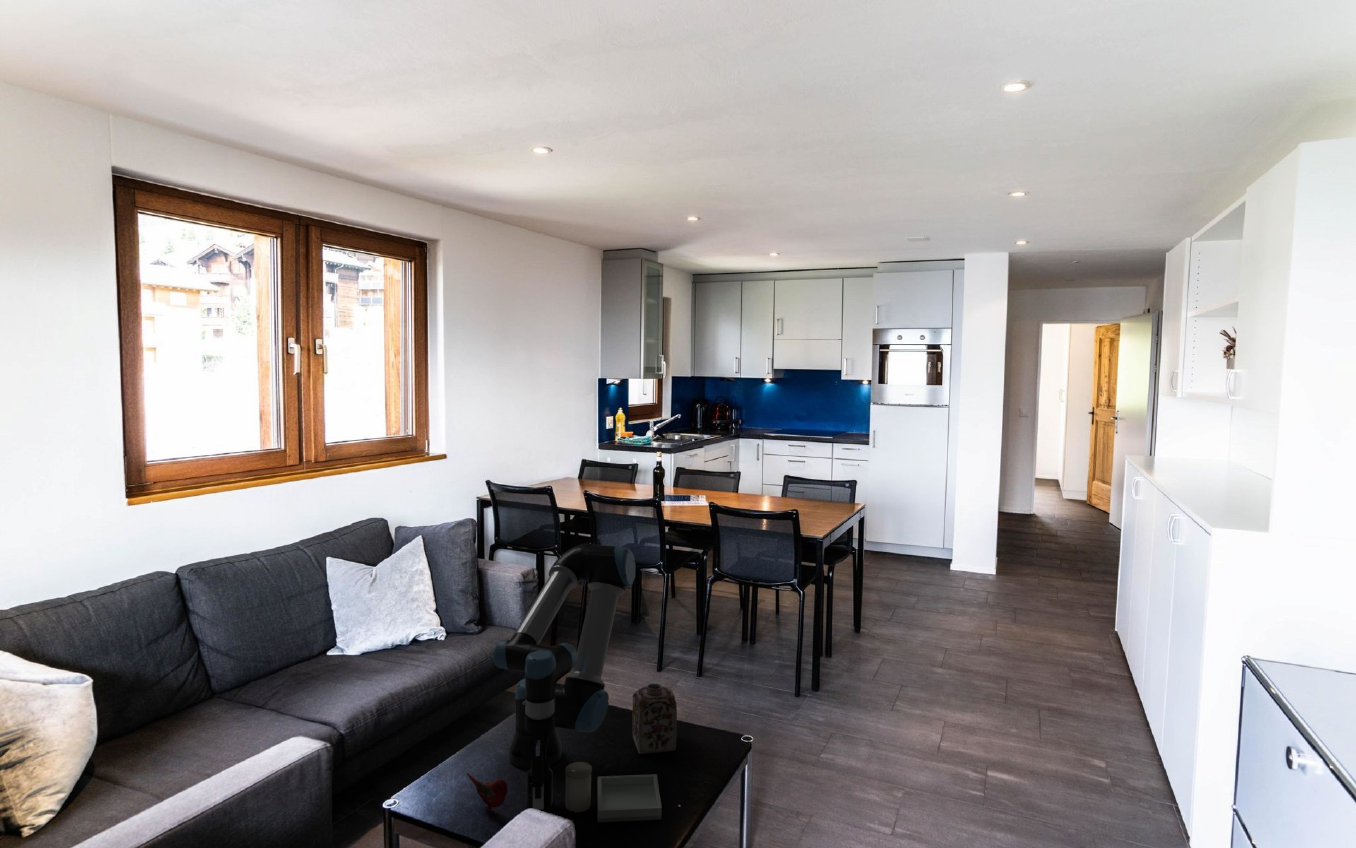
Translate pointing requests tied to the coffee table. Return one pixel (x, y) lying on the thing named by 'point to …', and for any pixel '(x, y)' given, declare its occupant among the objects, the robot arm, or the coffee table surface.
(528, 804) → the supplement bottle
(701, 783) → the coffee table surface
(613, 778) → the sage tray
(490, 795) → the decorative bird figurine
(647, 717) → the decorative jar
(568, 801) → the cream canister
